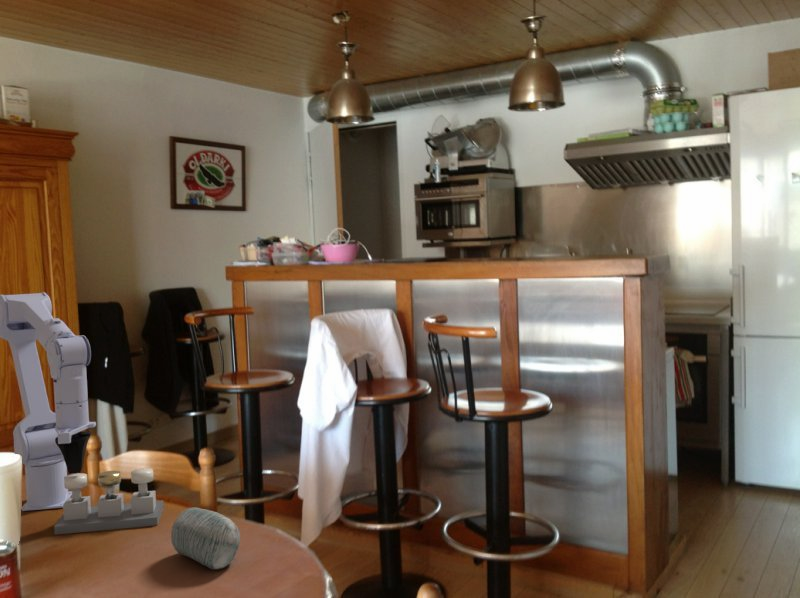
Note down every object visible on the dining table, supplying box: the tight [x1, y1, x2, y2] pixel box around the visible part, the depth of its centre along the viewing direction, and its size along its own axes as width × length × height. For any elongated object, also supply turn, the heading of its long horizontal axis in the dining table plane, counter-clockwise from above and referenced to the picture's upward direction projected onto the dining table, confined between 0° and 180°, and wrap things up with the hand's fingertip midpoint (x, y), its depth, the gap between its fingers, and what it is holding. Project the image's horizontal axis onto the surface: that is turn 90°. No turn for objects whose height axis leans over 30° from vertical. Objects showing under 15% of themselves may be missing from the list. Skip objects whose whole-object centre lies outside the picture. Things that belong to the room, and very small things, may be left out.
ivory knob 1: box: [64, 472, 89, 503], centre depth 143 cm, size 4×4×5 cm
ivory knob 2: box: [130, 467, 154, 497], centre depth 145 cm, size 4×4×5 cm
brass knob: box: [97, 470, 122, 500], centre depth 144 cm, size 4×4×5 cm
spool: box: [170, 507, 241, 570], centre depth 124 cm, size 14×10×10 cm
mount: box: [53, 490, 164, 536], centre depth 144 cm, size 10×18×4 cm, turn 101°
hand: (75, 472), depth 143 cm, fingers closed
